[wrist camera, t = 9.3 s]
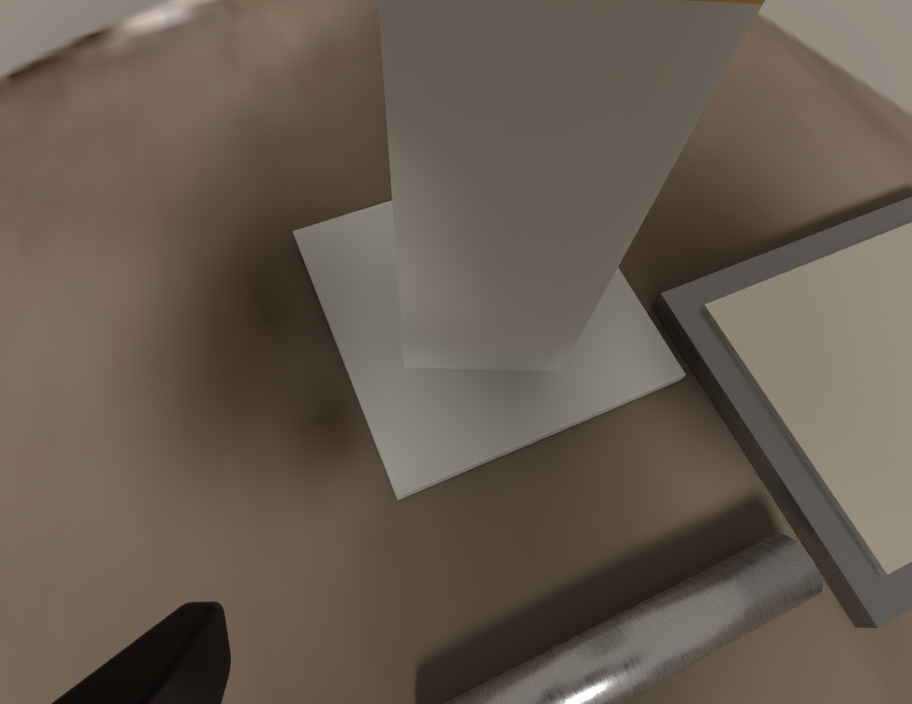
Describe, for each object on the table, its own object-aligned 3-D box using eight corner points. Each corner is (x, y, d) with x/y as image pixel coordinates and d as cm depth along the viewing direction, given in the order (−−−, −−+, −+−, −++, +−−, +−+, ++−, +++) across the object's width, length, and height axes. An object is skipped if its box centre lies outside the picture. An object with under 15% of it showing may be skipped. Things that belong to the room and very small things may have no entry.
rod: (438, 791, 13) (439, 812, 12) (411, 715, 14) (409, 725, 12) (795, 597, 15) (835, 595, 14) (759, 538, 16) (793, 529, 14)
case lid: (397, 500, 16) (397, 497, 15) (295, 238, 19) (292, 231, 19) (681, 380, 18) (686, 375, 17) (543, 160, 21) (545, 152, 21)
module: (560, 371, 17) (801, -68, 6) (404, 367, 17) (371, -93, 6) (551, 241, 19) (723, -272, 8) (410, 236, 19) (392, -296, 8)
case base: (856, 627, 15) (883, 627, 14) (651, 306, 19) (663, 289, 18) (1148, 460, 17) (1187, 451, 16) (915, 203, 21) (937, 184, 20)
